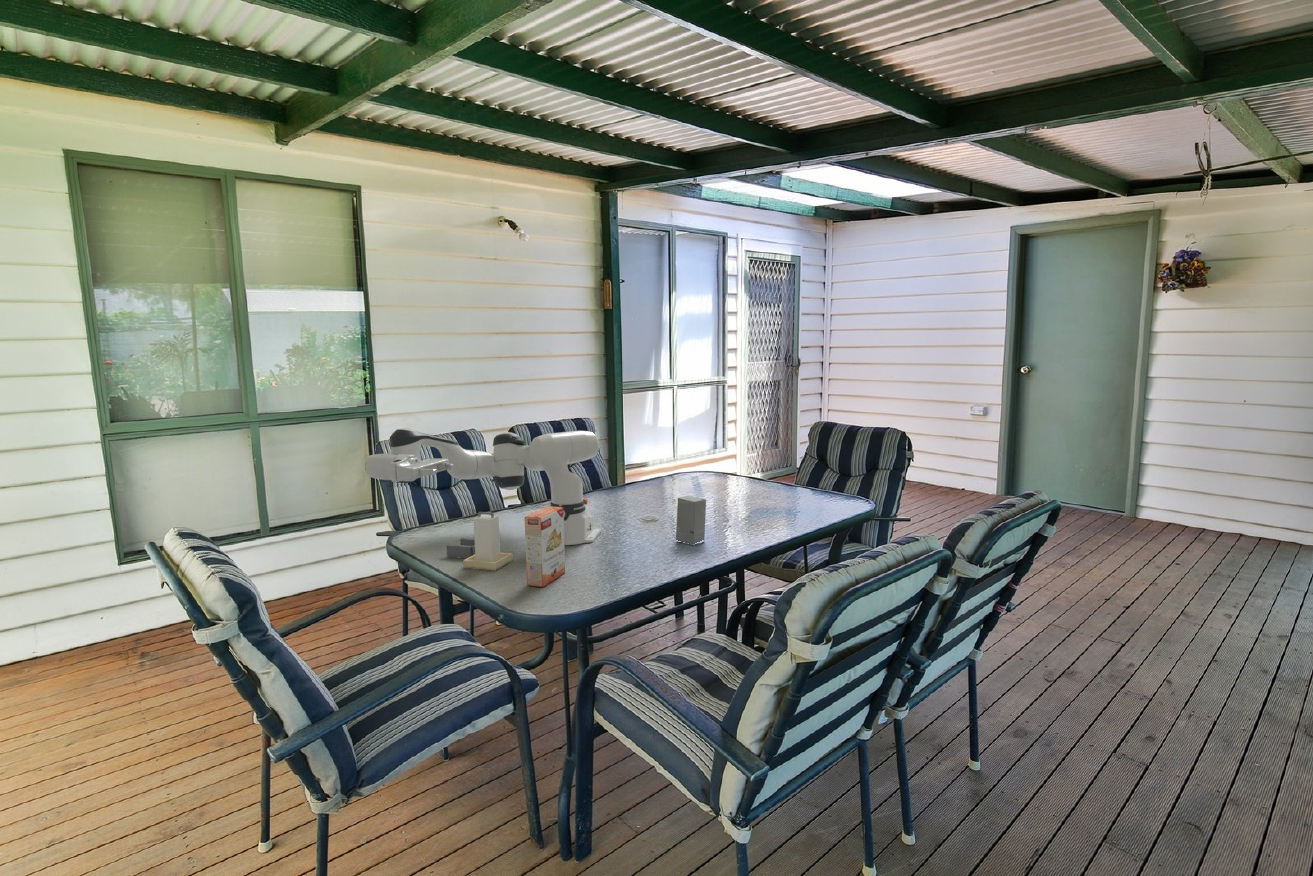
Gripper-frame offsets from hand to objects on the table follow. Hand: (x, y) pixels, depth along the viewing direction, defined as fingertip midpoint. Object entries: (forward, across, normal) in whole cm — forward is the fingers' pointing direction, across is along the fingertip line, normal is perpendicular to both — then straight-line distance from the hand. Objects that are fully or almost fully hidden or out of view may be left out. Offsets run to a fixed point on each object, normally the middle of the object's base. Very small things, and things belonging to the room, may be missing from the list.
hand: (443, 469), depth 230 cm
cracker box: (+41, +10, -30) cm, 52 cm away
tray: (+16, +2, -30) cm, 34 cm away
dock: (+3, -6, -30) cm, 31 cm away
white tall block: (+16, +2, -29) cm, 34 cm away
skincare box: (+72, -39, -30) cm, 87 cm away
